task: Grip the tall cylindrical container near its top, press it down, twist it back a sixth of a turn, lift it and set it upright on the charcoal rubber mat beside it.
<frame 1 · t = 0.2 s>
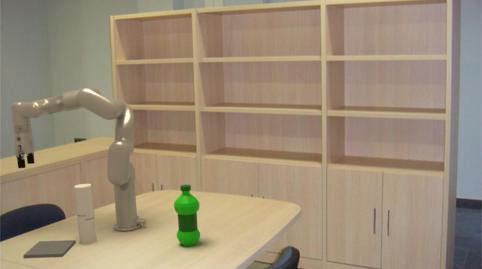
hand: (26, 165, 246), 31 cm above the table, tool pointing down, fingers open, 9 cm apart
charcoal mat: (50, 250, 223), on the table
cylindrical container: (88, 242, 232), on the table
plastic bottle: (189, 244, 223), on the table
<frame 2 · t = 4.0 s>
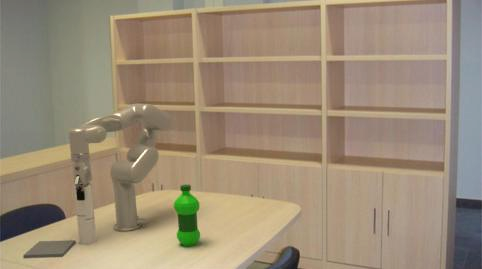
hand: (84, 197, 229), 20 cm above the table, tool pointing down, fingers closed on cylindrical container, 7 cm apart
cylindrical container: (88, 242, 232), on the table, touching gripper
everything else where it was.
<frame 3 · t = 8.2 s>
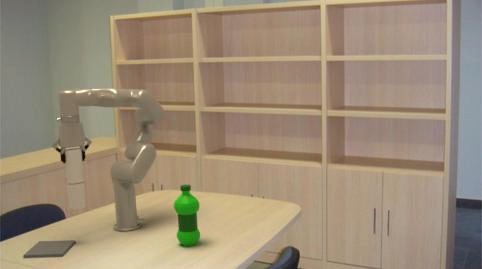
hand: (73, 161, 225), 36 cm above the table, tool pointing down, fingers closed on cylindrical container, 7 cm apart
cylindrical container: (77, 207, 227), point 16 cm above the table, touching gripper
everything else where it was.
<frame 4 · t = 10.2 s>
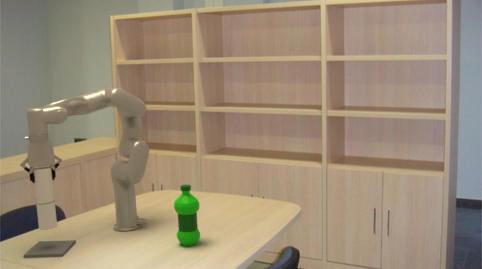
hand: (43, 180, 219), 30 cm above the table, tool pointing down, fingers closed on cylindrical container, 7 cm apart
cylindrical container: (48, 227, 221), point 10 cm above the table, touching gripper
everything else where it was.
when the fingers open (22 cm above the table, at t = 12.2 s): cylindrical container stays where it is, resting on charcoal mat.
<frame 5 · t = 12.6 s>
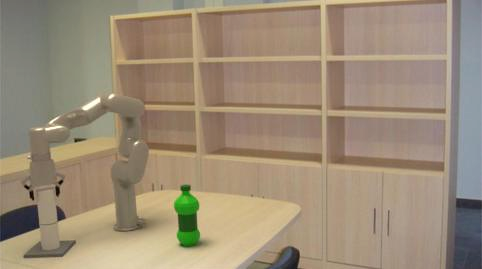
hand: (45, 198, 220), 22 cm above the table, tool pointing down, fingers open, 9 cm apart
cylindrical container: (50, 247, 223), point 1 cm above the table, touching charcoal mat
everything else where it was.
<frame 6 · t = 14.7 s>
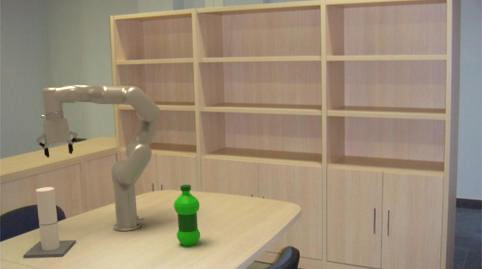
hand: (59, 155, 231), 38 cm above the table, tool pointing down, fingers open, 9 cm apart
nothing on the table moved.
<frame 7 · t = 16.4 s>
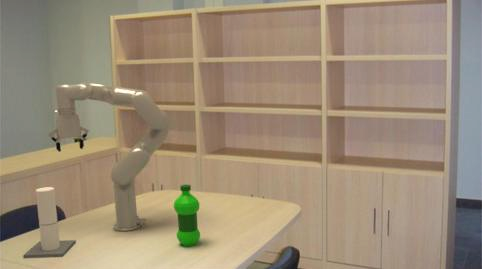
hand: (70, 150, 240), 38 cm above the table, tool pointing down, fingers open, 9 cm apart
nothing on the table moved.
at the end: cylindrical container inside the target area on the charcoal mat (0.2 cm from its centre), point 1.0 cm above the charcoal mat's base; cylindrical container tilted 0°; the gripper is holding nothing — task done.
